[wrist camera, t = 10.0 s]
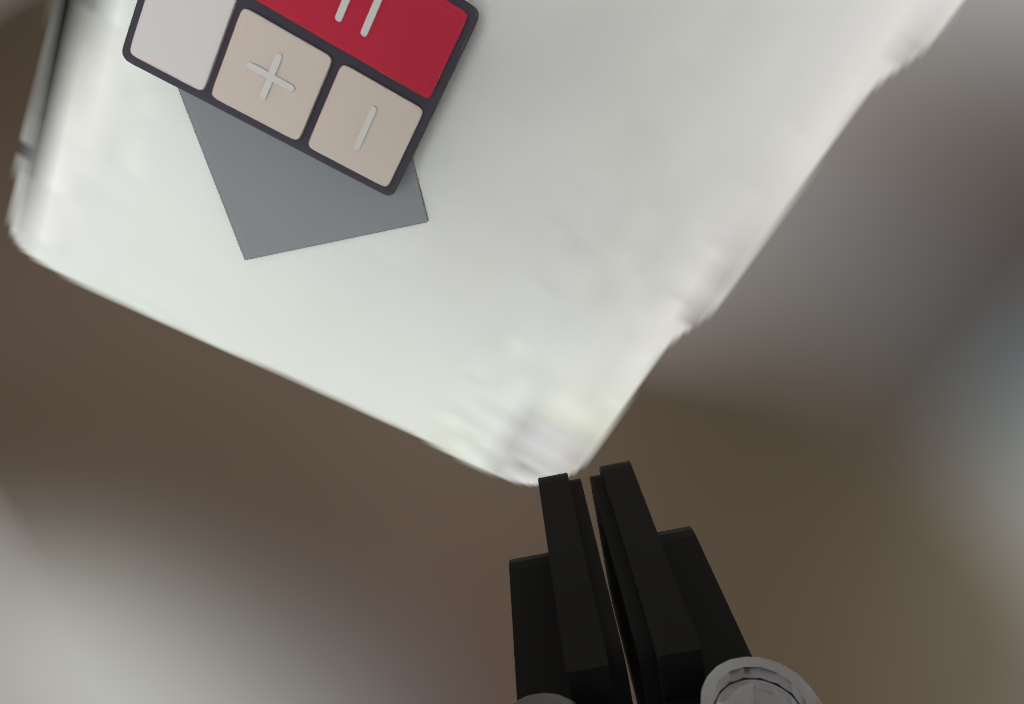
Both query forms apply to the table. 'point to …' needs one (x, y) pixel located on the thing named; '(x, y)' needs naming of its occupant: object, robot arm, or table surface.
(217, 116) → the mat
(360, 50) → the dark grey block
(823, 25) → the table surface
